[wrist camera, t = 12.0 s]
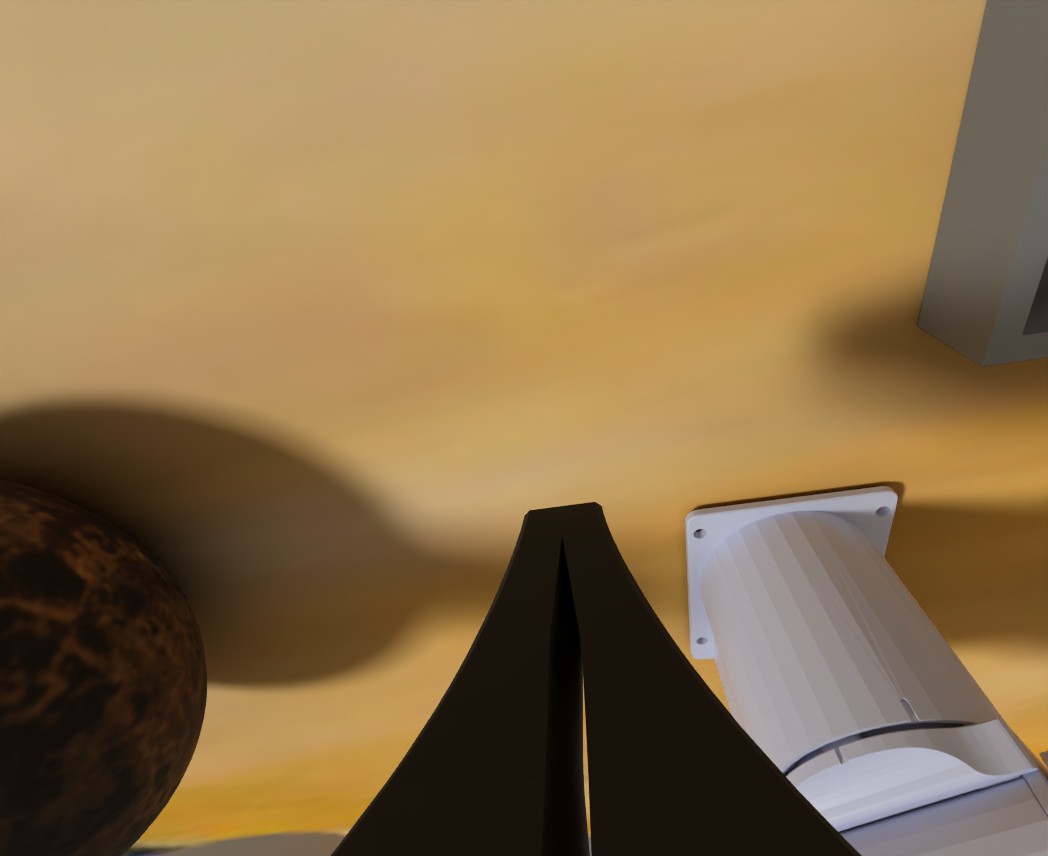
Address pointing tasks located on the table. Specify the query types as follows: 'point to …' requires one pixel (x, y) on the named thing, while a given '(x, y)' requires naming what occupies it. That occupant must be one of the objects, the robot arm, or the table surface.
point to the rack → (997, 199)
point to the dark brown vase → (89, 681)
